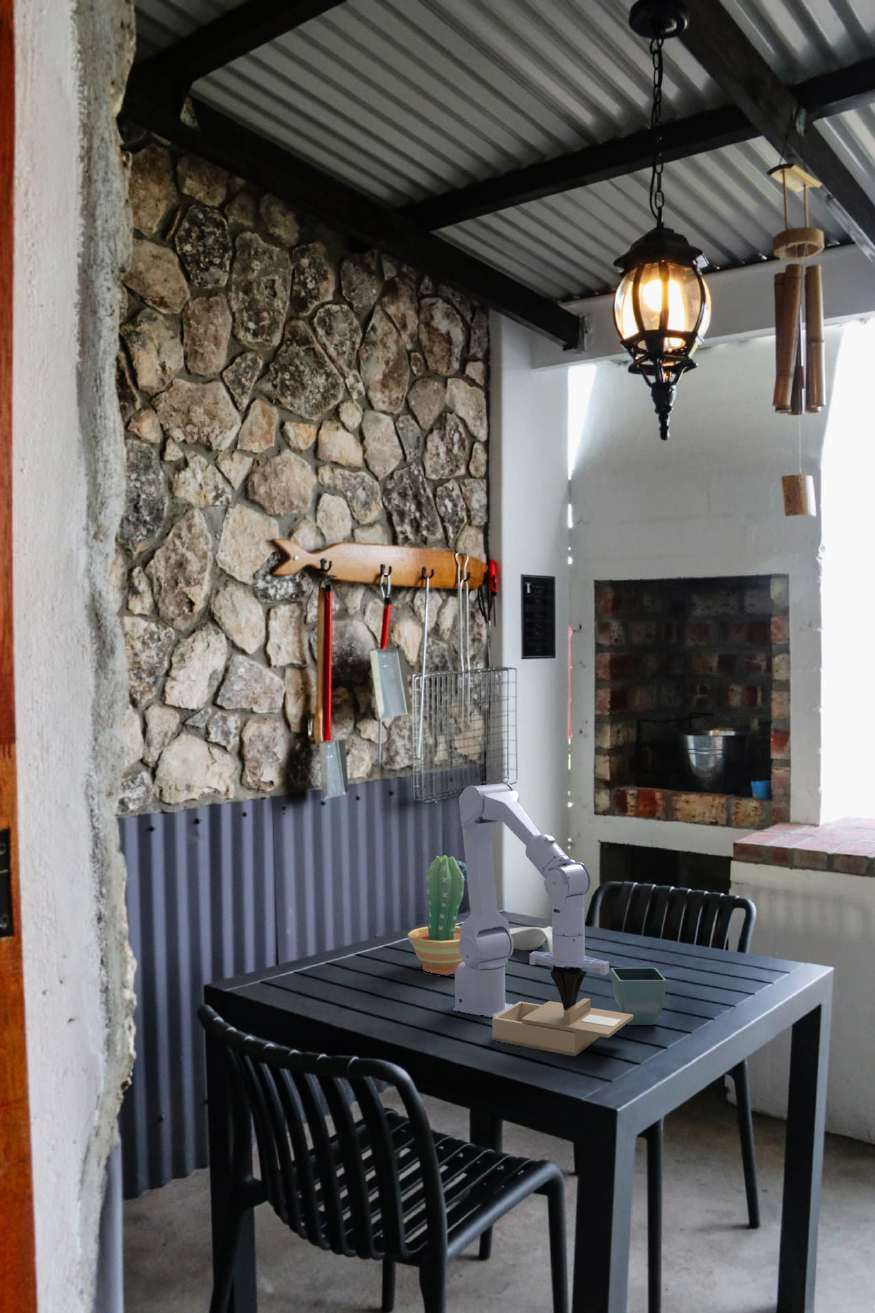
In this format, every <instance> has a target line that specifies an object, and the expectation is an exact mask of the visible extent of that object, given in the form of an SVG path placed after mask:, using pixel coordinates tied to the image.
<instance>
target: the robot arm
mask: <svg viewBox="0 0 875 1313" xmlns="http://www.w3.org/2000/svg"><path fill="white" fill-rule="evenodd" d="M458 801H459V803H458V804H459V813H460V814H459V816H460V823H461V824H460V826H461V828H462V829H461V830H462V837H463V839H462V840H463V848H464V858H465V859H464V860H465V865H466V871H467V881H466V882H467V890H468V901H469V902H468V903H469V913H470V914H469V916H468V917H467V918H466V919H465V920H464V922H462V924H461V925H460V940H459V954H460V956H461V958H462V960H463V962H461V963H460V964H459V965H458V967H457V970H456V973H455V974H454V1007H453V1009H452V1011H454V1012H458V1011H460V1013H464V1014H469V1013H470V1014H471V1015H474V1016H475V1015H476V1016H480V1015H484V1016H483V1017H486V1016H487V1018H491V1017H495V1016H497V1015H498V1014H500V1013H502V1012H503V1011H505V1010H507V1009H508V1008H510V1007H512V1006H513V1005H514V1004H512V1003H507V1002H506V964H508V963H509V958H510V957H511V956H512V955H513V952H514V949H515V948H514V941H513V938H512V935H511V933H510V930H509V929H510V924H509V921H508V919H506V918H505V916H504V917H503V916H502V915H501V914H500V913H499V912H498V911H499V910H498V901H497V890H496V880H495V871H494V860H493V849H492V840H491V832H492V830H493V829H494V827H495V826H496V825H498V824H499V823H500V822H502V823H503V824H504V825H505V826H507V828H508V829H509V830H510V831H511V832H512V833H513V834H514V835H515V836H516V837H517V838H518V839H519V841H521V842H522V843H523V845H525V856H526V858H528V860H529V861H530V863H531V864H532V865H533V866H534V867H535V868H536V870H537V871H538V873H540V875H541V876H542V877H543V879H544V880H543V884H544V889H545V892H546V893H547V895H548V896H547V897H548V905H549V906H550V908H551V927H552V952H549V951H548V952H547V951H535V950H534V951H532V952H531V953H529V965H533V966H535V965H541V966H546V967H547V966H548V967H553V968H552V970H551V971H550V977H551V979H552V980H553V982H554V984H555V986H556V989H557V991H558V994H559V996H560V999H561V1003H562V1004H563V1008H564V1011H566V1010H567V1009H569V1008H570V1007H572V1006H573V1005H575V1004H576V1003H577V999H578V995H579V992H580V988H581V985H582V984H583V981H584V979H585V977H586V976H587V973H593V974H595V973H596V974H599V975H601V976H602V975H603V976H606V975H608V973H610V961H606V960H602V959H597V958H595V957H591V956H587V955H586V947H585V946H586V945H585V944H586V940H585V936H586V935H585V934H586V933H585V895H586V894H587V893H588V892H589V891H590V889H591V884H592V878H591V874H590V872H589V869H588V868H587V867H586V865H585V864H584V863H583V862H581V861H575V860H574V859H571V858H569V856H568V855H567V854H566V852H564V851H563V850H562V848H561V847H560V845H559V844H558V843H556V839H555V838H554V836H551V835H549V834H546V833H545V834H542V833H541V832H540V831H539V830H538V829H537V826H535V824H534V823H533V822H532V820H531V818H530V817H529V816H528V815H527V813H526V811H525V810H524V809H523V807H522V806H521V804H520V795H519V793H518V791H516V790H515V788H514V787H513V786H512V785H511V784H510V783H508V782H501V783H493V784H485V785H484V784H483V785H468V786H466V787H465V788H464V789H463V791H462V792H461V794H460V796H459V797H458Z"/></svg>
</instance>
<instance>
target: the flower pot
mask: <svg viewBox="0 0 875 1313" xmlns="http://www.w3.org/2000/svg"><path fill="white" fill-rule="evenodd" d="M610 975H611V982H612V993H613V998H614V1001H615V1004H616V1006H617V1009H618V1011H619V1012H620V1013H626V1014H632V1015H633V1019H632V1020H631V1021H629V1022H628V1023H627V1024H626V1025H628V1026H654V1025H655V1024H656V1022H657V1021H658V1019H659V1017H660V1016H661V1013H662V1011H663V1007H664V1001H665V994H666V987H667V979H666V978H665V977H664V976H663V975H662V974H661V973H660V971H659V970H658V969H657V968H656V967H611V968H610Z"/></svg>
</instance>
